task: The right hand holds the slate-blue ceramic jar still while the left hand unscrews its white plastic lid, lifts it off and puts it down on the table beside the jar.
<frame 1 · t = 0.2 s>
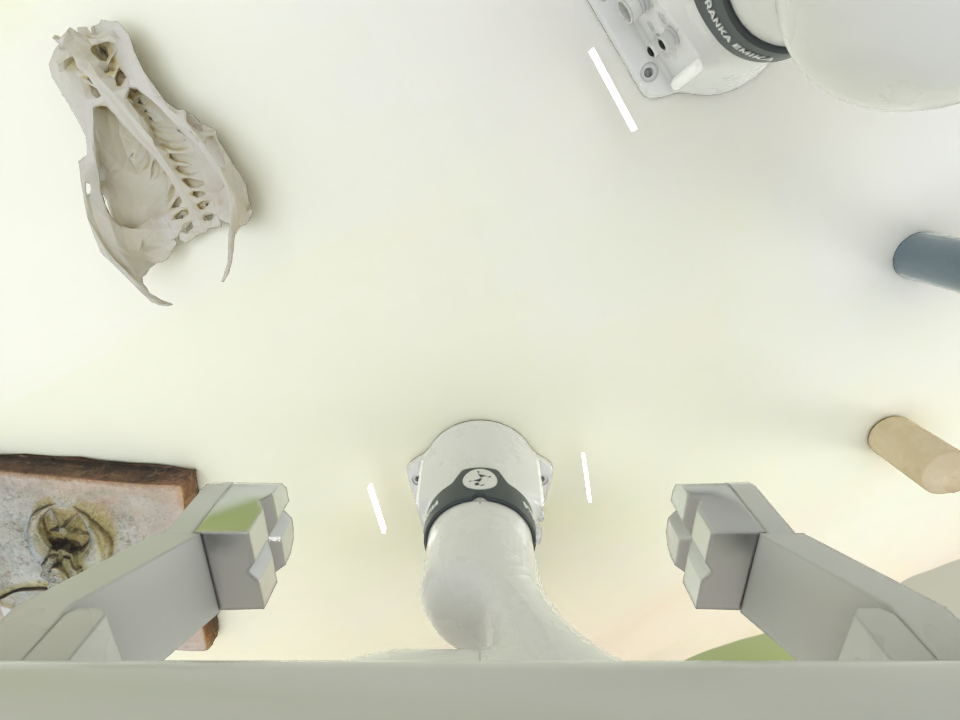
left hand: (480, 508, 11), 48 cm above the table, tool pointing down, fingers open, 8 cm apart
plaque: (101, 547, 71), on the table
anatomical model: (172, 164, 53), on the table
jar: (917, 255, 57), on the table
candle: (888, 434, 65), on the table
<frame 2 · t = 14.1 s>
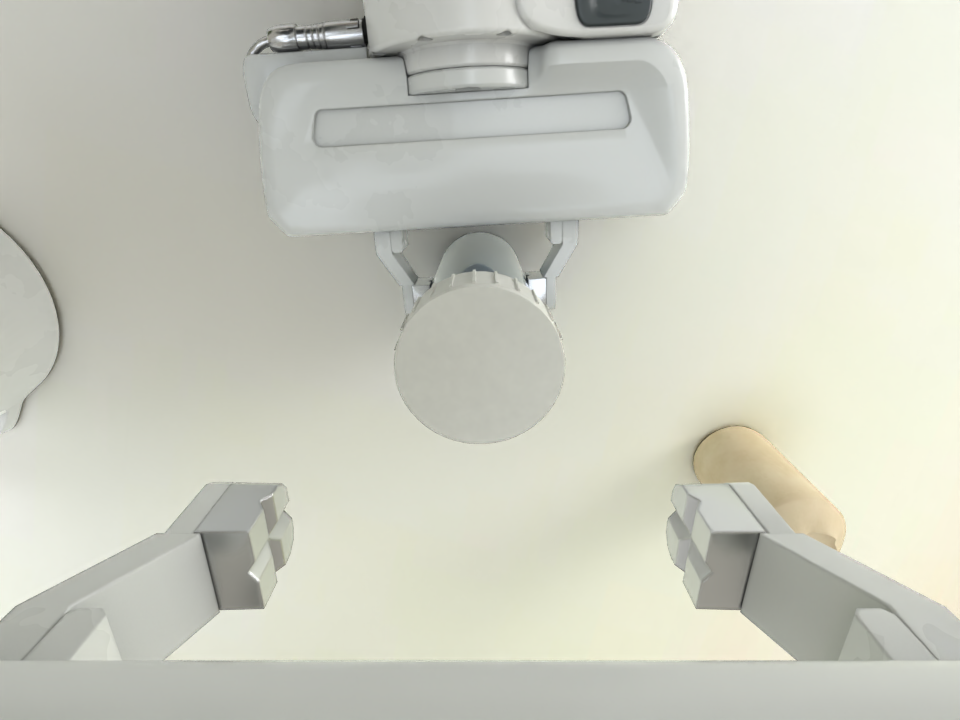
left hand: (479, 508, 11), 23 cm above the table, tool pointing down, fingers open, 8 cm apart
right hand: (481, 310, 28), fingers closed on jar, 5 cm apart
lid: (479, 366, 18), point 16 cm above the table, screwed on, not yet turned
jar: (479, 273, 33), on the table, touching right hand
candle: (728, 456, 38), on the table
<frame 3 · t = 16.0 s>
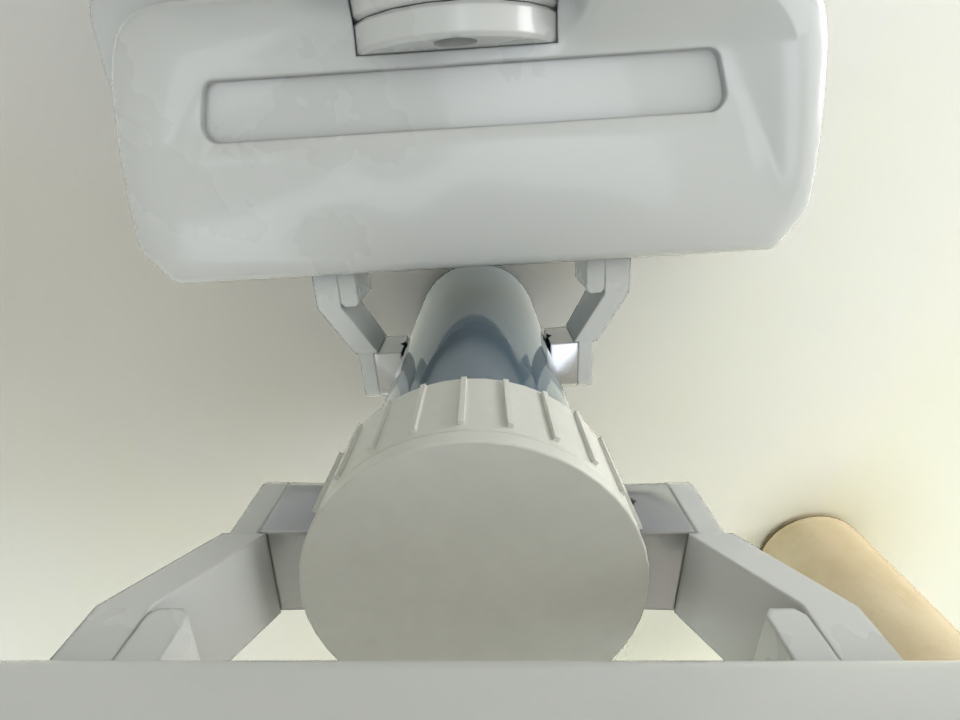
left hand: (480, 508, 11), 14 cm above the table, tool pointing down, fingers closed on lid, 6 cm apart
right hand: (479, 385, 19), fingers closed on jar, 5 cm apart
lid: (474, 577, 9), point 16 cm above the table, screwed on, not yet turned, touching left hand
jar: (477, 319, 24), on the table, touching right hand
candle: (805, 552, 29), on the table
when the left hand's fingers open (14 cm above the table, at t = 17.4 s): lid stays where it is, point 16 cm above the table.
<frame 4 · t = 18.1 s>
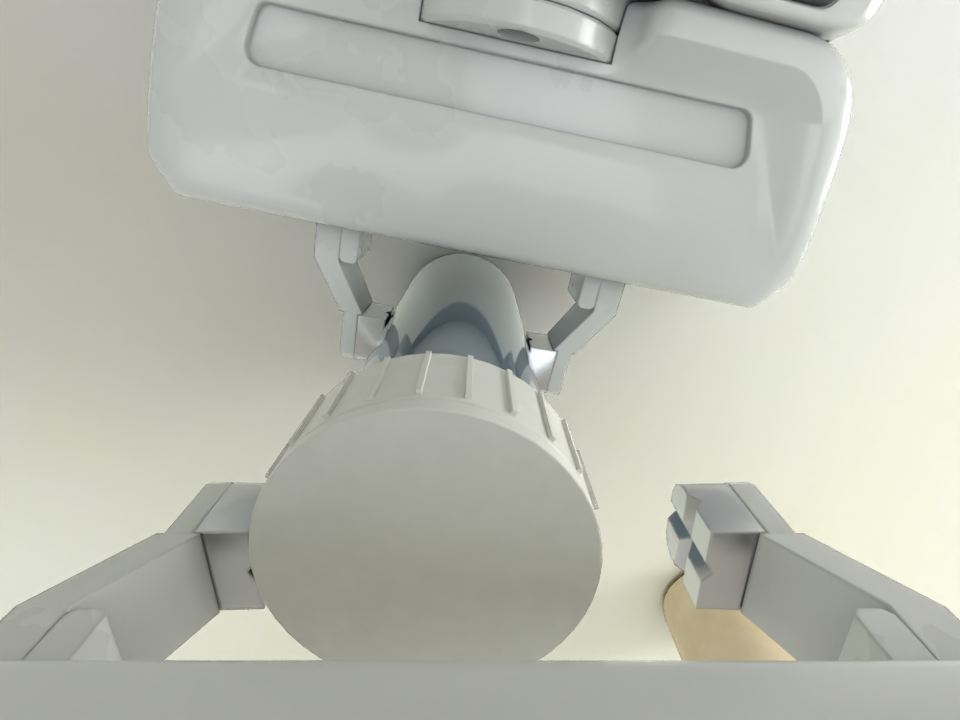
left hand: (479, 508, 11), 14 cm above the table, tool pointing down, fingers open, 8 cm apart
right hand: (452, 370, 19), fingers closed on jar, 5 cm apart
lid: (428, 551, 9), point 16 cm above the table, turned 87° so far, risen 0.3 cm, still on its thread
jar: (461, 309, 24), on the table, touching right hand
candle: (707, 598, 30), on the table
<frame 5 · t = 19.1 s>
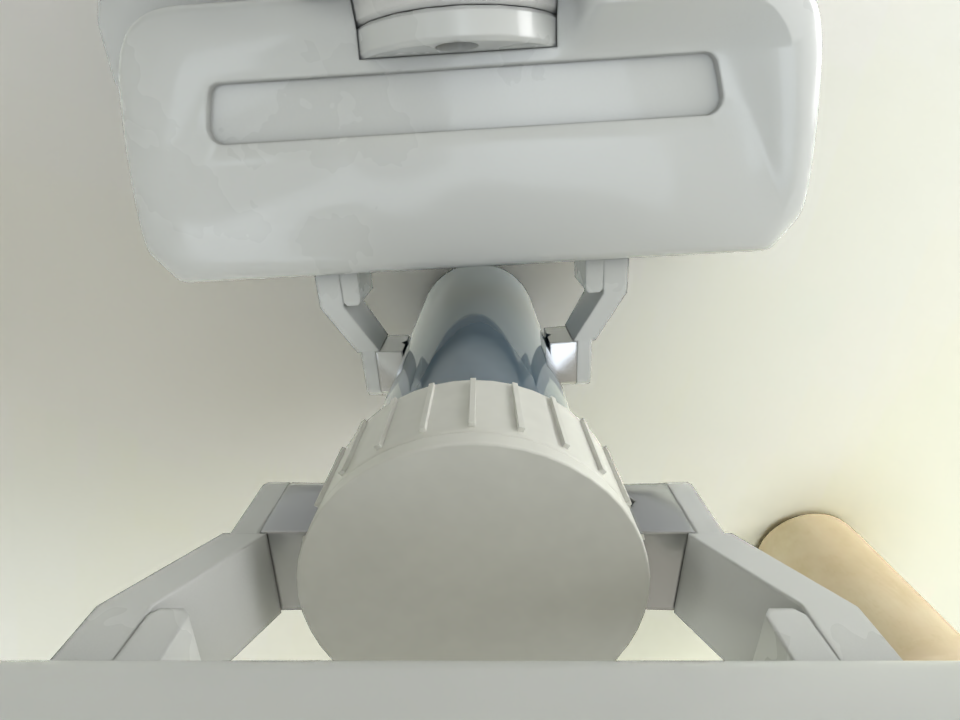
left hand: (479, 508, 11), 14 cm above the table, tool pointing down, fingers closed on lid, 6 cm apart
right hand: (480, 383, 19), fingers closed on jar, 5 cm apart
lid: (473, 580, 9), point 16 cm above the table, turned 87° so far, risen 0.3 cm, still on its thread, touching left hand
jar: (478, 318, 24), on the table, touching right hand
candle: (801, 549, 29), on the table
when the left hand's fingers open (2 cm above the table, at t = 26.9 s): lid drops 2 cm, point 2 cm above the table.
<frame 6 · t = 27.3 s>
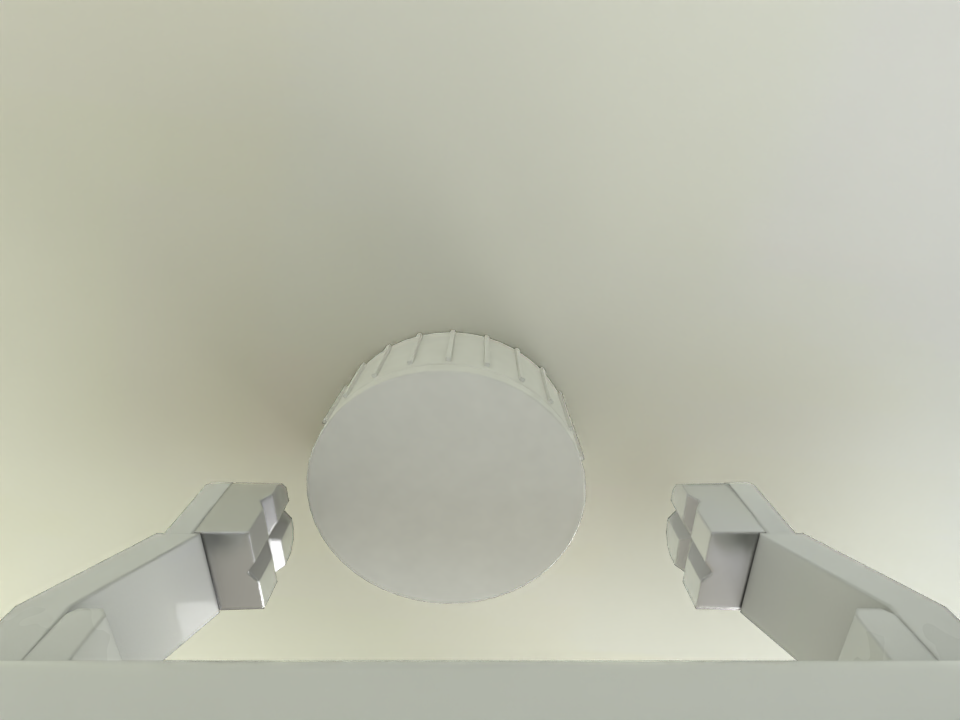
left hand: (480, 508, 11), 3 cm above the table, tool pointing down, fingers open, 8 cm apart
lid: (447, 489, 11), point 2 cm above the table, off its thread
when the right hand's fingers open (5 cm above the table, at t = 27.9 s): jar stays where it is, on the table.
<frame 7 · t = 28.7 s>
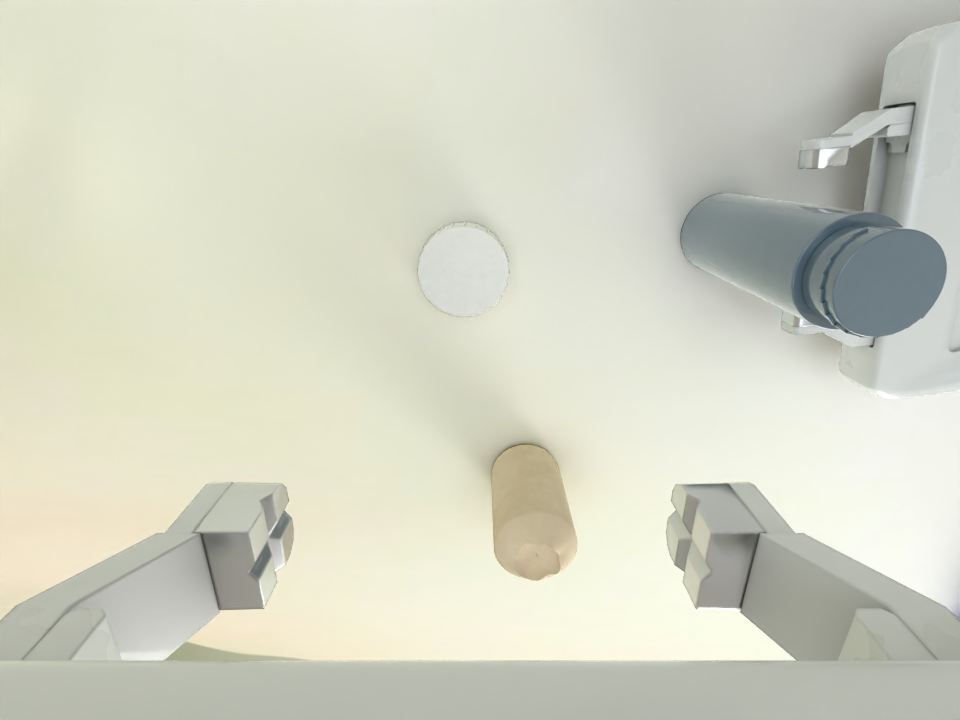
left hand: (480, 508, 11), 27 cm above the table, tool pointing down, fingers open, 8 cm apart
lid: (463, 272, 34), point 2 cm above the table, off its thread
jar: (718, 232, 35), on the table
candle: (524, 471, 42), on the table
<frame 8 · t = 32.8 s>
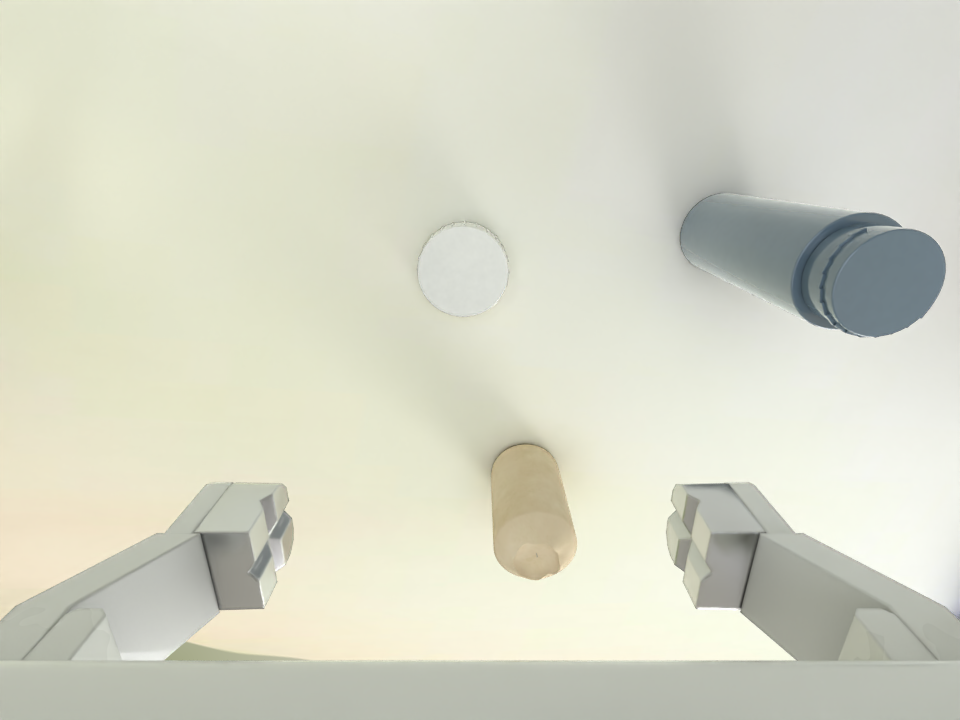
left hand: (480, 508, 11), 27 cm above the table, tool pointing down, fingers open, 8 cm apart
lid: (463, 272, 34), point 2 cm above the table, off its thread
jar: (718, 232, 35), on the table
candle: (524, 471, 42), on the table
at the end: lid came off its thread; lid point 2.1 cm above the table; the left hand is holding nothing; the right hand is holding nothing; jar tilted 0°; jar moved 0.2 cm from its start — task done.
